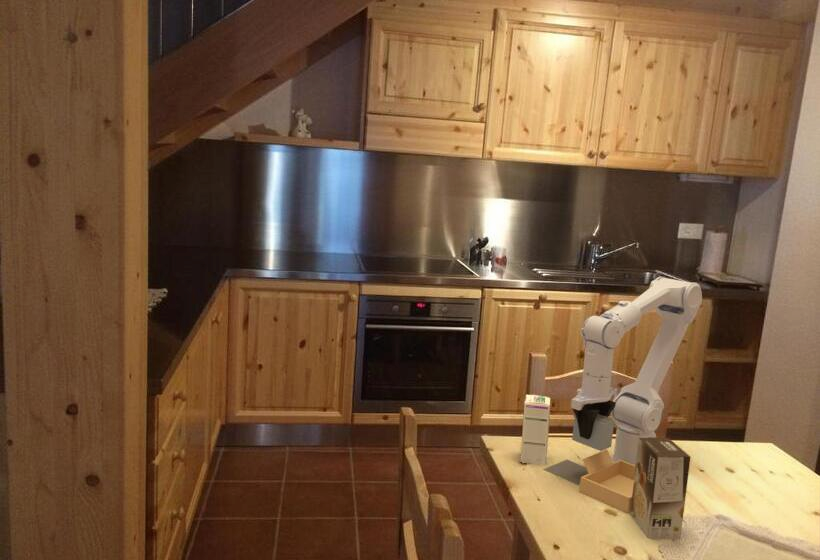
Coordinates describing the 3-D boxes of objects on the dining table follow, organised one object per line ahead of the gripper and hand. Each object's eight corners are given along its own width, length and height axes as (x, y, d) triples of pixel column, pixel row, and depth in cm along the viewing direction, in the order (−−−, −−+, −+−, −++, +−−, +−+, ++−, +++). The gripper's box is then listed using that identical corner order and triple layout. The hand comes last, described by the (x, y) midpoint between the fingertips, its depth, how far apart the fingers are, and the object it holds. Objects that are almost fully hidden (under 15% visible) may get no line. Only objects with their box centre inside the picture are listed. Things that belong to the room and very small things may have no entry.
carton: (610, 471, 151) (613, 445, 150) (673, 497, 140) (677, 469, 139) (571, 490, 141) (574, 462, 140) (636, 518, 130) (639, 489, 129)
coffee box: (682, 541, 123) (692, 457, 120) (648, 540, 122) (658, 456, 120) (659, 515, 132) (669, 437, 130) (627, 515, 131) (636, 436, 129)
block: (582, 435, 149) (585, 408, 148) (611, 446, 144) (614, 418, 143) (572, 439, 146) (575, 412, 145) (600, 451, 141) (604, 422, 140)
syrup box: (546, 466, 151) (551, 404, 149) (519, 463, 153) (524, 401, 150) (546, 456, 157) (551, 396, 155) (520, 453, 158) (525, 393, 156)
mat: (566, 461, 155) (567, 459, 155) (601, 475, 149) (601, 473, 149) (542, 471, 149) (542, 469, 149) (577, 486, 143) (577, 484, 143)
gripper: (599, 363, 151) (593, 422, 153) (561, 374, 141) (555, 436, 143) (628, 371, 145) (621, 432, 148) (590, 383, 136) (584, 447, 138)
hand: (590, 435), depth 145 cm, fingers closed on block, 4 cm apart
